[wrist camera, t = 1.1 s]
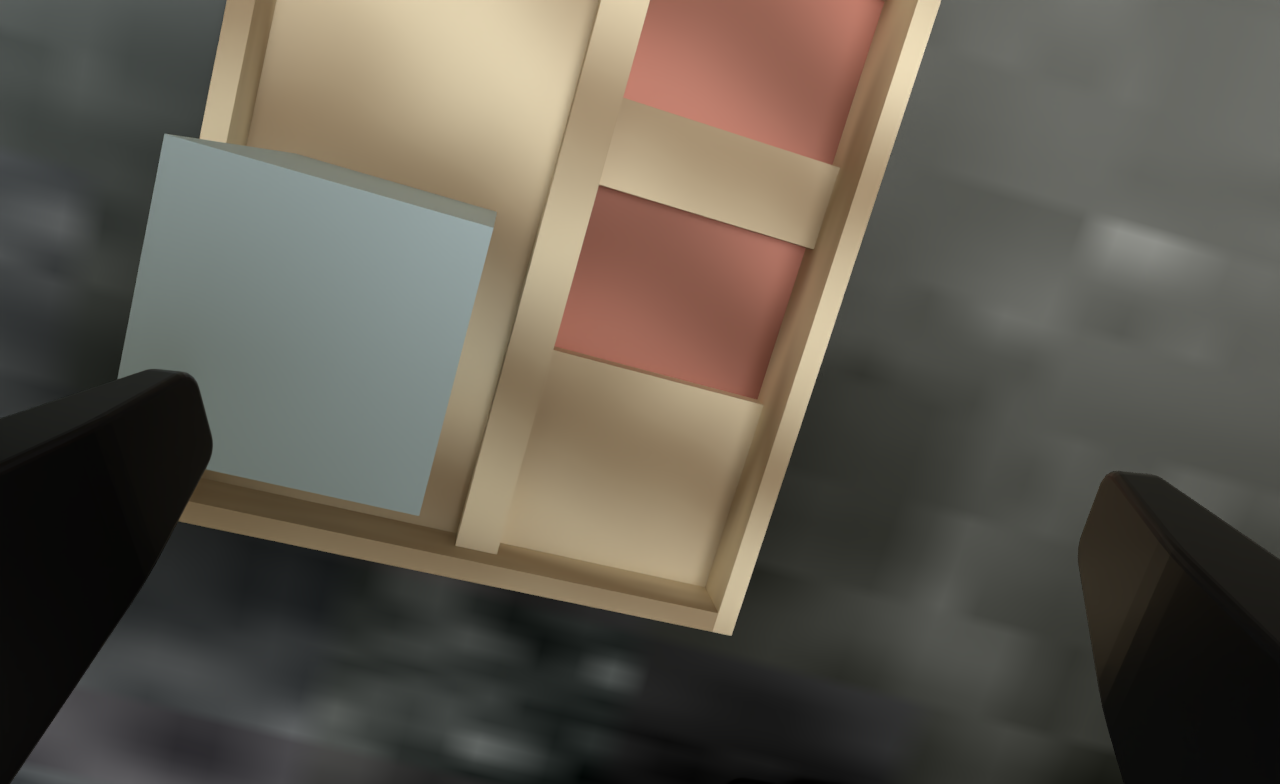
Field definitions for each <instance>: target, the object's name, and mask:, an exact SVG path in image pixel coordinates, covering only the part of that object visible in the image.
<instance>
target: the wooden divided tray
mask: <svg viewBox="0 0 1280 784" xmlns="http://www.w3.org/2000/svg"><path fill="white" fill-rule="evenodd" d="M940 2H941V0H227V3H226V8H225V13H224V18H223V23H222V28H221V33H220V38H219V43H218V48H217V53H216V58H215V63H214V68H213V73H212V78H211V83H210V88H209V93H208V98H207V103H206V108H205V113H204V118H203V124H202V129H201V134H200V139H203V140H210V141H216V142H223V143H230V144H236V145H243V146H249V147H256V148H263V149H269V150H276V151H282V152H289V153H295V154H299V155H302V156H306V157H309V158H313V159H316V160H319V161H323V162H326V163H330V164H333V165H337V166H340V167H344V168H347V169H351V170H354V171H357V172H361V173H364V174H368V175H371V176H375V177H378V178H382V179H385V180H388V181H392V182H395V183H399V184H402V185H406V186H409V187H413V188H416V189H420V190H423V191H426V192H430V193H433V194H437V195H440V196H444V197H447V198H451V199H454V200H458V201H461V202H464V203H468V204H471V205H475V206H478V207H482V208H485V209H489V210H492V211H496V212H497V214H496V219H495V223H494V228H493V232H492V236H491V240H490V243H489V247H488V251H487V255H486V259H485V263H484V267H483V271H482V274H481V278H480V282H479V286H478V290H477V294H476V298H475V302H474V305H473V309H472V313H471V317H470V321H469V325H468V329H467V332H466V336H465V340H464V344H463V348H462V352H461V356H460V360H459V363H458V367H457V371H456V375H455V379H454V383H453V387H452V390H451V394H450V398H449V402H448V406H447V410H446V414H445V418H444V421H443V425H442V429H441V433H440V437H439V441H438V445H437V448H436V452H435V456H434V460H433V464H432V468H431V472H430V476H429V479H428V483H427V487H426V491H425V495H424V499H423V503H422V506H421V510H420V514H419V516H417V515H412V514H407V513H403V512H398V511H394V510H389V509H385V508H380V507H375V506H371V505H366V504H362V503H357V502H353V501H348V500H343V499H339V498H334V497H330V496H325V495H321V494H316V493H312V492H307V491H302V490H298V489H293V488H289V487H284V486H280V485H275V484H270V483H266V482H261V481H257V480H252V479H248V478H243V477H238V476H234V475H229V474H225V473H220V472H216V471H211V470H205V471H204V473H203V475H202V477H201V479H200V481H199V483H198V485H197V487H196V488H195V490H194V492H193V494H192V496H191V498H190V500H189V502H188V504H187V506H186V507H185V509H184V511H183V513H182V515H181V517H180V519H179V522H184V523H189V524H194V525H199V526H203V527H208V528H213V529H218V530H223V531H228V532H232V533H237V534H242V535H247V536H252V537H257V538H261V539H266V540H271V541H276V542H281V543H286V544H290V545H295V546H300V547H305V548H310V549H315V550H319V551H324V552H329V553H334V554H339V555H344V556H348V557H353V558H358V559H363V560H368V561H373V562H377V563H382V564H387V565H392V566H397V567H401V568H406V569H411V570H416V571H421V572H426V573H430V574H435V575H440V576H445V577H450V578H455V579H459V580H464V581H469V582H474V583H479V584H484V585H488V586H493V587H498V588H503V589H508V590H513V591H517V592H522V593H527V594H532V595H537V596H542V597H546V598H551V599H556V600H561V601H566V602H571V603H575V604H580V605H585V606H590V607H595V608H600V609H604V610H609V611H614V612H619V613H624V614H628V615H633V616H638V617H643V618H648V619H653V620H657V621H662V622H667V623H672V624H677V625H682V626H686V627H691V628H696V629H701V630H706V631H711V632H715V633H720V634H725V635H730V636H732V633H733V630H734V626H735V623H736V620H737V617H738V614H739V611H740V608H741V605H742V602H743V599H744V596H745V593H746V590H747V587H748V584H749V581H750V578H751V575H752V572H753V569H754V566H755V563H756V560H757V557H758V554H759V551H760V548H761V545H762V542H763V539H764V536H765V533H766V530H767V527H768V523H769V520H770V517H771V514H772V511H773V508H774V505H775V502H776V499H777V496H778V493H779V490H780V487H781V484H782V481H783V478H784V475H785V472H786V469H787V466H788V463H789V460H790V457H791V454H792V451H793V448H794V445H795V442H796V439H797V436H798V433H799V430H800V427H801V424H802V420H803V417H804V414H805V411H806V408H807V405H808V402H809V399H810V396H811V393H812V390H813V387H814V384H815V381H816V378H817V375H818V372H819V369H820V366H821V363H822V360H823V357H824V354H825V351H826V348H827V345H828V342H829V339H830V336H831V333H832V330H833V327H834V324H835V321H836V317H837V314H838V311H839V308H840V305H841V302H842V299H843V296H844V293H845V290H846V287H847V284H848V281H849V278H850V275H851V272H852V269H853V266H854V263H855V260H856V257H857V254H858V251H859V248H860V245H861V242H862V239H863V236H864V233H865V230H866V227H867V224H868V221H869V218H870V214H871V211H872V208H873V205H874V202H875V199H876V196H877V193H878V190H879V187H880V184H881V181H882V178H883V175H884V172H885V169H886V166H887V163H888V160H889V157H890V154H891V151H892V148H893V145H894V142H895V139H896V136H897V133H898V130H899V127H900V124H901V121H902V118H903V115H904V111H905V108H906V105H907V102H908V99H909V96H910V93H911V90H912V87H913V84H914V81H915V78H916V75H917V72H918V69H919V66H920V63H921V60H922V57H923V54H924V51H925V48H926V45H927V42H928V39H929V36H930V33H931V30H932V27H933V24H934V21H935V18H936V15H937V12H938V8H939V5H940Z"/></svg>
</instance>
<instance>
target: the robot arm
mask: <svg viewBox="0 0 1280 784" xmlns="http://www.w3.org/2000/svg"><path fill="white" fill-rule="evenodd" d="M212 450H213V439H212V434H211V430H210V426H209V422H208V419H207V415H206V411H205V407H204V404H203V400H202V396H201V392H200V388H199V385H198V383H197V381H196V380H195V378H194V377H193V376H192V375H190V374H189V373H187V372H182V371H173V370H163V369H147V370H144V371H141V372H138V373H135V374H132V375H129V376H126V377H123V378H120V379H117V380H114V381H111V382H108V383H105V384H102V385H99V386H96V387H93V388H90V389H87V390H84V391H81V392H78V393H75V394H72V395H69V396H66V397H63V398H60V399H57V400H54V401H51V402H48V403H45V404H42V405H39V406H36V407H34V408H31V409H28V410H25V411H22V412H19V413H16V414H13V415H10V416H7V417H4V418H1V419H0V784H10V783H11V782H12V780H13V779H14V777H15V776H16V774H17V773H18V771H19V770H20V768H21V767H22V765H23V764H24V762H25V761H26V760H27V758H28V757H29V755H30V754H31V752H32V751H33V749H34V748H35V746H36V745H37V743H38V742H39V740H40V739H41V737H42V736H43V734H44V733H45V731H46V730H47V728H48V727H49V725H50V724H51V722H52V721H53V719H54V718H55V716H56V715H57V713H58V712H59V710H60V709H61V707H62V706H63V704H64V703H65V702H66V700H67V699H68V697H69V696H70V694H71V693H72V691H73V690H74V688H75V687H76V685H77V684H78V682H79V681H80V679H81V678H82V676H83V675H84V673H85V672H86V670H87V669H88V667H89V666H90V664H91V663H92V661H93V660H94V658H95V657H96V655H97V654H98V652H99V651H100V649H101V648H102V646H103V645H104V643H105V642H106V641H107V639H108V638H109V636H110V635H111V633H112V632H113V630H114V629H115V627H116V626H117V624H118V623H119V621H120V620H121V618H122V617H123V615H124V614H125V612H126V611H127V609H128V608H129V606H130V605H131V603H132V602H133V600H134V599H135V597H136V596H137V594H138V592H139V591H140V589H141V588H142V586H143V585H144V583H145V581H146V580H147V578H148V576H149V574H150V573H151V571H152V569H153V567H154V566H155V564H156V562H157V560H158V559H159V557H160V555H161V553H162V551H163V549H164V547H165V545H166V543H167V541H168V540H169V538H170V536H171V534H172V532H173V530H174V528H175V526H176V524H177V523H178V521H179V519H180V517H181V515H182V513H183V511H184V509H185V507H186V506H187V504H188V502H189V500H190V498H191V496H192V494H193V492H194V490H195V488H196V487H197V485H198V483H199V481H200V479H201V477H202V475H203V473H204V471H205V470H206V468H207V466H208V464H209V461H210V459H211V455H212ZM1078 564H1079V571H1080V577H1081V583H1082V589H1083V595H1084V601H1085V608H1086V614H1087V620H1088V626H1089V632H1090V638H1091V645H1092V651H1093V657H1094V663H1095V669H1096V675H1097V681H1098V687H1099V692H1100V697H1101V702H1102V708H1103V711H1104V715H1105V719H1106V723H1107V727H1108V730H1109V734H1110V738H1111V741H1112V744H1113V748H1114V751H1115V755H1116V758H1117V762H1118V765H1119V768H1120V772H1121V775H1122V779H1123V782H1124V784H1280V559H1279V558H1277V557H1276V556H1274V555H1273V554H1271V553H1270V552H1268V551H1267V550H1265V549H1264V548H1263V547H1261V546H1260V545H1258V544H1257V543H1255V542H1254V541H1252V540H1251V539H1249V538H1248V537H1247V536H1245V535H1244V534H1242V533H1241V532H1239V531H1238V530H1236V529H1235V528H1233V527H1232V526H1231V525H1229V524H1228V523H1226V522H1225V521H1223V520H1222V519H1220V518H1219V517H1217V516H1216V515H1214V514H1213V513H1212V512H1210V511H1209V510H1207V509H1206V508H1204V507H1203V506H1201V505H1200V504H1198V503H1197V502H1196V501H1194V500H1193V499H1191V498H1190V497H1188V496H1187V495H1185V494H1184V493H1182V492H1181V491H1180V490H1178V489H1177V488H1175V487H1174V486H1172V485H1171V484H1169V483H1168V482H1166V481H1165V480H1163V479H1162V478H1160V477H1159V476H1155V475H1152V474H1143V473H1133V472H1123V471H1113V472H1111V473H1109V474H1107V475H1106V476H1105V478H1104V479H1103V480H1102V482H1101V484H1100V486H1099V489H1098V492H1097V495H1096V497H1095V500H1094V503H1093V505H1092V508H1091V511H1090V514H1089V516H1088V519H1087V522H1086V524H1085V527H1084V530H1083V532H1082V535H1081V538H1080V542H1079V549H1078ZM736 784H758V783H752V782H738V783H736Z"/></svg>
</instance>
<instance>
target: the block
mask: <svg viewBox="0 0 1280 784" xmlns="http://www.w3.org/2000/svg"><path fill="white" fill-rule="evenodd" d="M496 214H497V212H496V211H492V210H489V209H485V208H482V207H478V206H475V205H471V204H468V203H464V202H461V201H458V200H454V199H451V198H447V197H444V196H440V195H437V194H433V193H430V192H426V191H423V190H420V189H416V188H413V187H409V186H406V185H402V184H399V183H395V182H392V181H388V180H385V179H382V178H378V177H375V176H371V175H368V174H364V173H361V172H357V171H354V170H351V169H347V168H344V167H340V166H337V165H333V164H330V163H326V162H323V161H319V160H316V159H313V158H309V157H306V156H302V155H299V154H295V153H289V152H282V151H276V150H269V149H263V148H256V147H249V146H243V145H236V144H230V143H223V142H216V141H210V140H203V139H197V138H190V137H184V136H177V135H170V134H164V139H163V144H162V149H161V154H160V160H159V165H158V170H157V175H156V180H155V186H154V191H153V196H152V201H151V207H150V212H149V217H148V222H147V227H146V233H145V238H144V243H143V248H142V253H141V259H140V264H139V269H138V274H137V279H136V285H135V290H134V295H133V300H132V306H131V311H130V316H129V321H128V326H127V332H126V337H125V342H124V347H123V352H122V358H121V363H120V368H119V373H118V378H117V379H120V378H123V377H126V376H129V375H132V374H135V373H138V372H141V371H144V370H147V369H163V370H173V371H182V372H187V373H189V374H190V375H192V376H193V377H194V378H195V380H196V381H197V383H198V385H199V388H200V392H201V396H202V400H203V404H204V407H205V411H206V415H207V419H208V422H209V426H210V430H211V434H212V439H213V450H212V455H211V459H210V461H209V464H208V466H207V468H206V470H211V471H216V472H220V473H225V474H229V475H234V476H238V477H243V478H248V479H252V480H257V481H261V482H266V483H270V484H275V485H280V486H284V487H289V488H293V489H298V490H302V491H307V492H312V493H316V494H321V495H325V496H330V497H334V498H339V499H343V500H348V501H353V502H357V503H362V504H366V505H371V506H375V507H380V508H385V509H389V510H394V511H398V512H403V513H407V514H412V515H417V516H419V514H420V510H421V506H422V503H423V499H424V495H425V491H426V487H427V483H428V479H429V476H430V472H431V468H432V464H433V460H434V456H435V452H436V448H437V445H438V441H439V437H440V433H441V429H442V425H443V421H444V418H445V414H446V410H447V406H448V402H449V398H450V394H451V390H452V387H453V383H454V379H455V375H456V371H457V367H458V363H459V360H460V356H461V352H462V348H463V344H464V340H465V336H466V332H467V329H468V325H469V321H470V317H471V313H472V309H473V305H474V302H475V298H476V294H477V290H478V286H479V282H480V278H481V274H482V271H483V267H484V263H485V259H486V255H487V251H488V247H489V243H490V240H491V236H492V232H493V228H494V223H495V219H496Z"/></svg>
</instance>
